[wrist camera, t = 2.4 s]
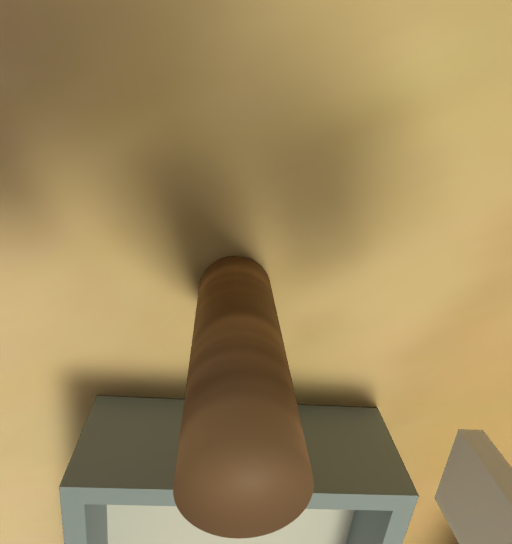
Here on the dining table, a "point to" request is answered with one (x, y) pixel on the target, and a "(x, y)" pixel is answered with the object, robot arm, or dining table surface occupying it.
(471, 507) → the robot arm
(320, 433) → the tray
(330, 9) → the dining table surface
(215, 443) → the dowel
